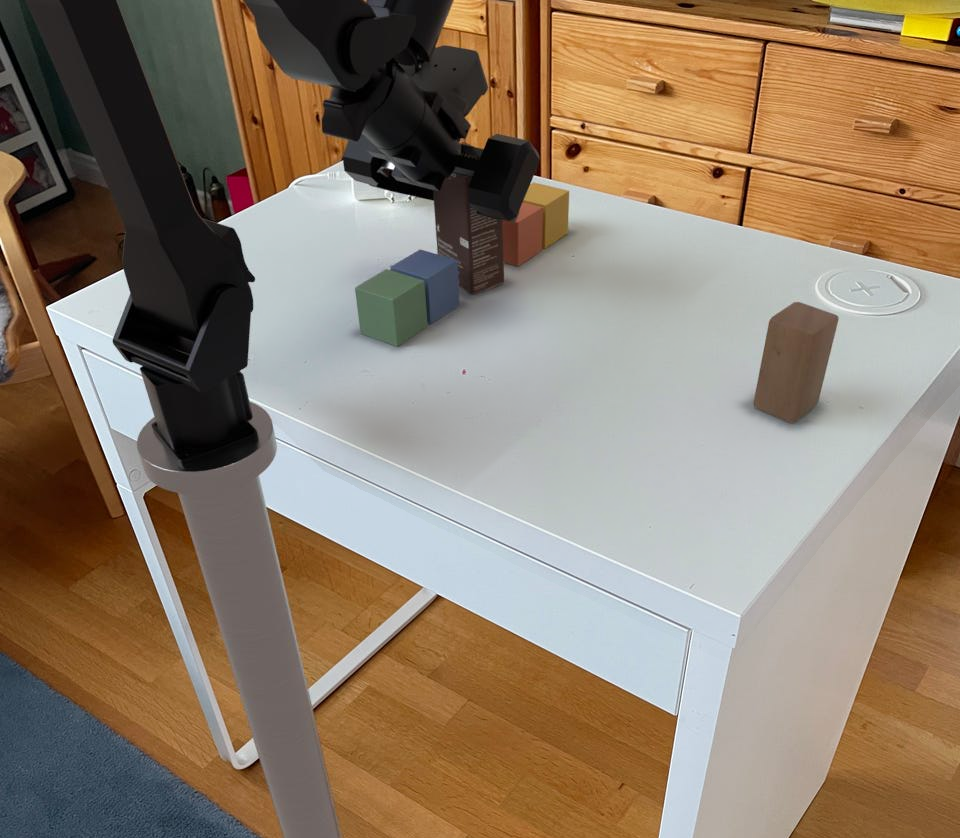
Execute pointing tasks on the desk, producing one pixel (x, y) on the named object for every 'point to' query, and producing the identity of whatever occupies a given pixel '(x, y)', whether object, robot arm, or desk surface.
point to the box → (468, 236)
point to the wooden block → (794, 361)
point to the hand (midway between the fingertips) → (477, 206)
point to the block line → (452, 271)
